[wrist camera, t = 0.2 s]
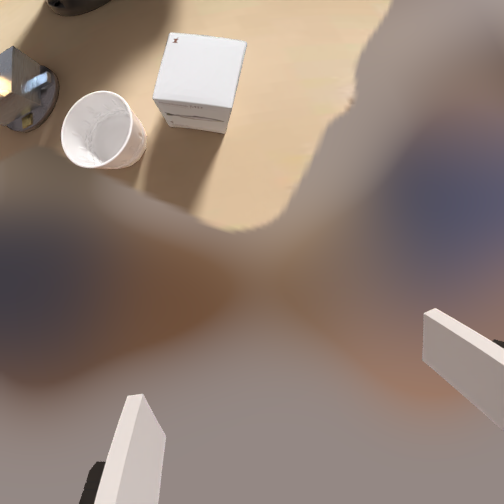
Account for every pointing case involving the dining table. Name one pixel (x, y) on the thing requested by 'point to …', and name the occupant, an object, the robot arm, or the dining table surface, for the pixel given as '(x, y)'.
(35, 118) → the dark grey cylinder
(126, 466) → the robot arm
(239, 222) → the dining table surface
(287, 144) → the dining table surface
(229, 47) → the supplement box
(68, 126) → the white cup
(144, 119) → the dining table surface
